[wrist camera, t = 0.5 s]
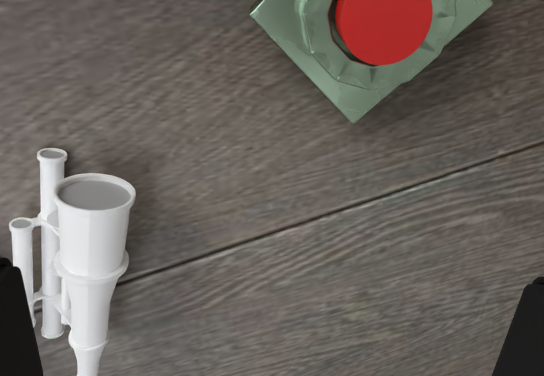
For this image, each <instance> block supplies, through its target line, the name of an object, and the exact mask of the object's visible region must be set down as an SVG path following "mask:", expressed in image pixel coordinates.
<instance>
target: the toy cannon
mask: <svg viewBox="0 0 544 376" xmlns="http://www.w3.org/2000/svg"><path fill="white" fill-rule="evenodd" d="M37 159H38V160H39V161H40V188H41V212H40V213H39V214H38V217H36V218H32V219H29V218H16V219H13V220H12V221H10V223H9V229H10V231H11V232H12V250H13V266H16V267H19V269H20V270H21V273H22V277H23V282H24V287H25V291H26V296H27V301H28V305H29V310H30V314H31V319H32V324H33V327H34V326H35V325H36V320H35V318H34V304H35V301H38V300H41V299H42V312H43V326H42V328H41V334H42V336H44V337H45V338H49V339H52V338H57V337H59V336H61V335H62V334H63V333H64V331H65V326H64V325H67V324H69V325H70V326H71V331H70V333H69V344H70V346H71V347H72V348H73V349H74V352H75V355H76V358H77V366H78V374H77V376H99V373H98V368H99V360H100V356H101V354H102V351H103V348H104V346H105V345H106V344H107V343H108V341H109V338H110V331H109V329H108V321H109V310H110V300H111V297H112V294H113V292H114V289H115V286H116V283H117V280H118V278H119V277H120V276H121V275H122V274H123V273H124V272H125V271H126V269H127V267H128V265H129V255H128V253H127V251H126V250H125V244H126V236H127V228H128V221H129V213H130V207H132V206H133V204H134V202H135V198H136V193H135V189H134V188H133V186H132V185H131V184H130V183H128V182H127V181H125V180H123V179H121V178H118V177H115V176H112V175H106V174H98V173H86V174H77V175H73V176H70V177H66V178H65V179H64V162H65V161H66V160H67V153H66V152H65V151H64V150H61V149H58V148H45V149H42V150H39V151H38V152H37ZM40 225H41V250H42V286H41V288H40V289H39V292H36V293H33V259H32V230H33V229H34V227H36V226H40Z"/></svg>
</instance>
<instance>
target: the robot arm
mask: <svg viewBox="0 0 544 376" xmlns="http://www.w3.org/2000/svg"><path fill="white" fill-rule="evenodd" d="M0 376H43V370H42V365H41V360H40V356H39V351H38V347H37V342H36V337H35V333H34V328H33V324H32V319H31V314H30V310H29V305H28V301H27V296H26V291H25V287H24V282H23V277H22V273H21V270H20V269H19V267H16V266H12V264H11V262H10V261H9V259H7V258H0ZM492 376H544V277H538V278H536V279H535V280H534V281H533V283H532V284H529V285H527V286H526V287H525V289H524V290H523V293H522V296H521V299H520V301H519V304H518V307H517V309H516V312H515V315H514V317H513V320H512V323H511V325H510V328H509V331H508V334H507V336H506V339H505V342H504V344H503V347H502V350H501V352H500V355H499V358H498V361H497V363H496V366H495V369H494V371H493V374H492Z"/></svg>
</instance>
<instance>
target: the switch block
mask: <svg viewBox="0 0 544 376" xmlns="http://www.w3.org/2000/svg"><path fill="white" fill-rule="evenodd" d="M337 1H338V0H258V1H257V2H256V3H255V4H254V5H253V6H252V7H251V9H250V16H251V17H252V19H253V20H254V21H255V22H256V23H257V24H258V25H259V26H260V27H261V28H262V29H263V30H264V31H265V32H266V33H267V35H268V36H269V37H270V38H271V39H272V40H273V41H274V42H275V43H276V44H277V45H278V46H279V47H280V48H281V49H282V50H283V52H284V53H285V54H286V55H287V56H288V57H289V58H290V59H291V60H292V61H293V62H294V63H295V64H296V65H297V66H298V68H299V69H300V70H301V71H302V72H303V73H304V74H305V75H306V76H307V77H308V78H309V79H310V80H311V81H312V82H313V84H314V85H315V86H316V87H317V88H318V89H319V90H320V91H321V92H322V93H323V94H324V95H325V96H326V97H327V98H328V99H329V101H330V102H331V103H332V104H333V105H334V106H335V107H336V108H337V109H338V110H339V111H340V112H341V113H342V114H343V115H344V117H345V118H346V119H347V120H348V121H349V122H350V123H351V124H355V123H356V122H357V121H358V120H359V119H360V118H362V117H363V116H364V115H365V114H366V113H367V112H369V111H370V110H371V109H372V108H373V107H374V106H376V105H377V104H378V103H379V102H380V101H381V100H382V99H384V98H385V97H386V96H387V95H388V94H389V93H391V92H392V91H393V90H394V89H395V88H396V87H398V86H399V85H400V84H401V83H405V82H408V81H410V80H411V79H412V78H413V77H415V76H416V75H417V74H418V73H419V72H420V71H422V70H423V69H424V68H425V67H426V66H427V65H429V64H430V63H431V62H432V61H433V60H434V59H436V58H437V57H438V56H439V55H440V53H441V51H442V49H443V47H444V46H445V45H447V44H448V43H449V42H450V41H451V40H452V39H454V38H455V37H456V36H457V35H458V34H459V33H461V32H462V31H463V30H464V29H465V28H466V27H468V26H469V25H470V24H471V23H472V22H473V21H475V20H476V19H477V18H478V17H479V16H480V15H481V14H483V13H484V12H485V11H486V10H487V9H488V8H490V7H491V6H492V5H493V1H492V0H431V1H432V7H433V15H432V22H431V26H430V29H429V32H428V34H427V36H426V38H425V40H424V41H423V43H422V44H421V45H420V47H419V48H418V49H417V50H416V51H415V52H414V53H413V54H411V55H410V56H409V57H407V58H405V59H404V60H402V61H399V62H397V63H394V64H389V65H373V64H369V63H366V62H364V61H362V60H360V59H359V58H357V57H356V56H355V55H354V54H353V53H352V52H351V51H350V50H349V49H348V48H347V46H346V45H345V44H344V42H343V41H342V40H341V38H340V36H339V34H338V31H337V28H336V23H335V9H336V4H337Z"/></svg>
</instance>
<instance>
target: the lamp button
mask: <svg viewBox="0 0 544 376" xmlns="http://www.w3.org/2000/svg"><path fill="white" fill-rule="evenodd" d="M432 15H433V7H432V1H431V0H338V1H337V4H336V9H335V23H336V28H337V31H338V34H339V36H340V38H341V40H342V41H343V42H344V44H345V45H346V46H347V48H348V49H349V50H350V51H351V52H352V53H353V54H354V55H355V56H356V57H357V58H359V59H360V60H362V61H364V62H366V63H369V64H373V65H389V64H394V63H397V62H399V61H402V60H404V59H405V58H407V57H409V56H410V55H411V54H413V53H414V52H415V51H416V50H417V49H418V48H419V47H420V45H421V44H422V43H423V41H424V40H425V38H426V36H427V34H428V32H429V29H430V26H431V22H432Z"/></svg>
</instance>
